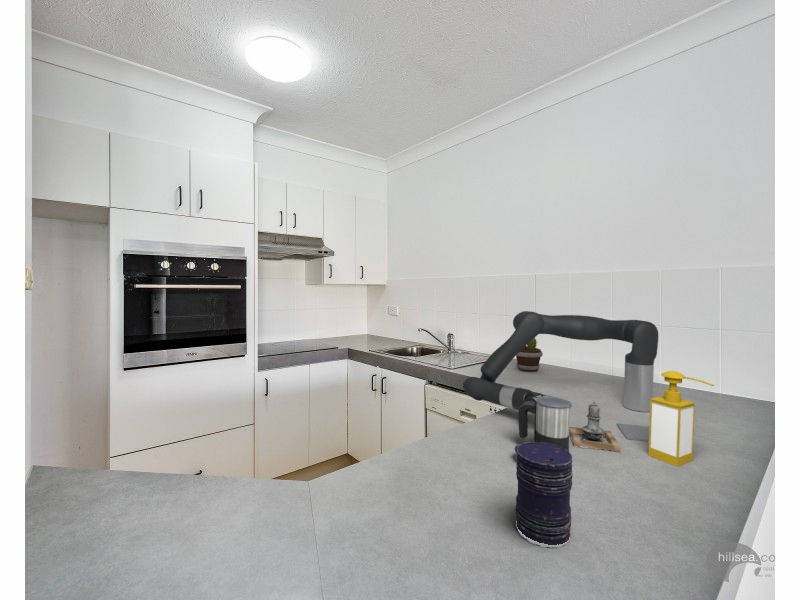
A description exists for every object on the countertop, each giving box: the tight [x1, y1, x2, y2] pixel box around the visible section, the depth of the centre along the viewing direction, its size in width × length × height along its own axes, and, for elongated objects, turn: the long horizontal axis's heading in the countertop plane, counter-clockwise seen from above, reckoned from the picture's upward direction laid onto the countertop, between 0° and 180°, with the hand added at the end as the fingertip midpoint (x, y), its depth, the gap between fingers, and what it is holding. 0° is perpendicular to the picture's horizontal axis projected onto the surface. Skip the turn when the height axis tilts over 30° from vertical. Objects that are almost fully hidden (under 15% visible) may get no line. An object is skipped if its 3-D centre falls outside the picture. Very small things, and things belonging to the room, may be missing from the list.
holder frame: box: [569, 426, 622, 453], centre depth 112 cm, size 12×12×2 cm
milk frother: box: [514, 395, 573, 454], centre depth 101 cm, size 14×16×15 cm
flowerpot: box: [515, 337, 543, 373], centre depth 205 cm, size 14×15×20 cm
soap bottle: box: [647, 370, 715, 467], centre depth 98 cm, size 7×13×24 cm, turn 27°
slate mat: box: [616, 422, 649, 442], centre depth 118 cm, size 12×12×1 cm
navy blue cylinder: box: [514, 441, 573, 545], centre depth 71 cm, size 10×10×15 cm
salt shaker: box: [581, 401, 606, 442], centre depth 112 cm, size 6×6×12 cm
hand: (563, 409), depth 118 cm, fingers open, 8 cm apart
